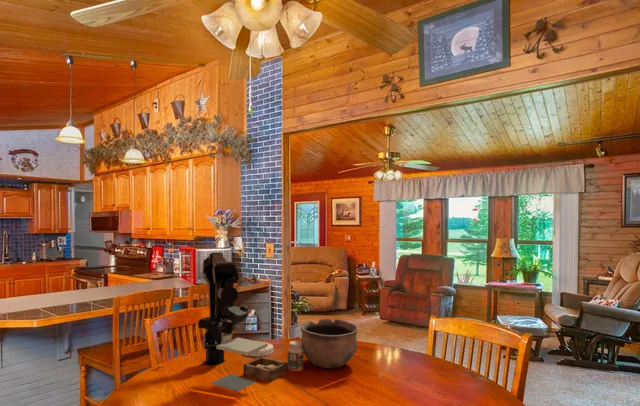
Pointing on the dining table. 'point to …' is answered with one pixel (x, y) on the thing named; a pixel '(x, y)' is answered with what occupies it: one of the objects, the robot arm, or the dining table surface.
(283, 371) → the tub
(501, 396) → the dining table surface
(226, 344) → the lid
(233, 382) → the mat
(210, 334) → the robot arm
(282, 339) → the dining table surface
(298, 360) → the pill bottle
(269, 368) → the block
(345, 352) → the ceramic bowl
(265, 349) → the mooncake
